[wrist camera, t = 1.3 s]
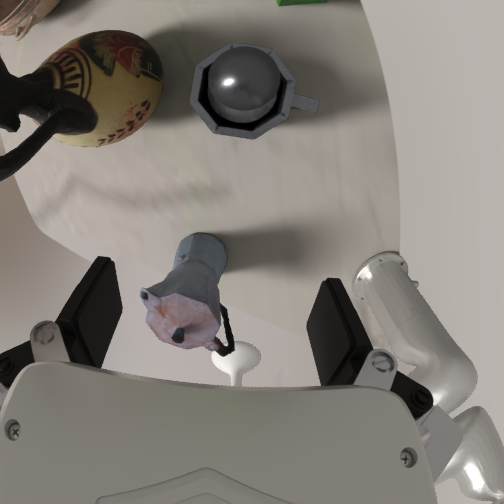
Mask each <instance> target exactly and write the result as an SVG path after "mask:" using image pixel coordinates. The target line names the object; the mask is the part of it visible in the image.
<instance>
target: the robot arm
mask: <svg viewBox="0 0 504 504" xmlns="http://www.w3.org/2000/svg"><path fill="white" fill-rule="evenodd" d="M417 287H418V282H417V281H412V280H411V279H410V278H409V276H408V266H407V263H406V261H405V260H404V259H403V258H402V257H401V256H400V255H398V254H396V253H392V252H386V253H381V254H378V255H376V256H374V257H372V258H371V259H369V260H368V261H367V262H365V263H364V264H363V265H362V266H361V268H360V269H359V270H358V272H357V274H356V276H355V278H354V282H353V290H354V293H355V295H356V297H357V299H358V300H359V301H360V302H362V303H365V304H369V306H370V307H371V309H372V311H373V313H374V315H375V317H376V319H377V321H378V323H379V325H380V327H381V329H382V331H383V333H384V335H385V337H386V339H387V341H388V343H389V346H390V348H391V350H392V352H393V354H394V355H395V356H396V358H397V359H399V360H400V361H402V362H404V363H406V364H410V365H414V366H417V367H416V368H415V369H414V370H413V371H412V372H411V373H409V375H407V376H406V375H404V374H402V373H400V372H399V371H397V366H398V365H397V361H396V359H395V357H394V356H393V355H392V354H391V353H390V352H388V351H386V350H384V349H373V347H372V344H371V342H370V340H369V338H368V335H367V333H366V331H365V329H364V326H363V324H362V322H361V320H360V318H359V316H358V314H357V311H356V310H355V308H354V306H353V304H352V302H351V300H350V298H349V296H348V294H347V292H346V290H345V288H344V286H343V284H342V282H341V280H340V279H339V278H327V279H326V281H323V282H322V284H321V286H320V289H319V292H318V295H317V297H316V300H315V303H314V305H313V308H312V311H311V313H310V316H309V318H308V321H307V332H308V336H309V340H310V344H311V348H312V351H313V355H314V359H315V363H316V367H317V371H318V375H319V379H320V383H321V386H310V387H241V386H222V385H207V384H197V383H186V382H178V381H170V380H163V379H156V378H149V377H143V376H137V375H131V374H126V373H121V372H116V371H111V370H106V369H101V367H102V364H103V361H104V358H105V355H106V353H107V350H108V347H109V345H110V342H111V339H112V337H113V334H114V331H115V329H116V326H117V324H118V321H119V319H120V316H121V314H122V308H123V307H122V301H121V296H120V292H119V286H118V281H117V275H116V269H115V263H114V261H111V258H109V257H102V256H98V257H97V258H96V259H95V261H94V262H93V264H92V265H91V267H90V268H89V269H88V271H87V272H86V274H85V275H84V277H83V278H82V280H81V281H80V283H79V284H78V285H77V287H76V288H75V290H74V291H73V293H72V294H71V296H70V298H69V299H68V301H67V302H66V304H65V306H64V307H63V309H62V311H61V313H60V314H59V316H58V318H57V319H56V321H55V322H52V321H43V322H40V323H38V324H37V325H36V326H34V328H33V329H32V331H31V334H30V340H29V341H27V342H25V343H23V344H21V345H18V346H16V347H14V348H12V349H10V350H7V351H5V352H3V353H1V354H0V504H438V503H437V497H436V493H435V487H434V486H435V485H437V484H439V483H441V482H443V481H445V480H447V479H449V478H455V479H456V480H457V481H458V484H459V486H460V489H461V491H462V493H463V494H464V495H466V496H467V497H470V498H473V499H476V500H481V501H492V502H494V503H492V504H504V446H503V444H502V442H501V439H500V437H499V434H498V432H497V430H496V428H495V426H494V424H493V422H492V420H491V418H490V416H489V415H488V413H487V412H486V410H485V409H484V408H482V407H480V406H474V407H471V408H469V409H467V410H466V411H464V412H462V413H461V414H459V415H458V416H456V417H455V418H453V419H451V418H450V417H449V416H448V414H449V413H450V412H452V411H454V410H455V409H456V408H458V407H459V406H460V405H461V404H462V403H464V402H465V400H467V399H468V398H469V397H470V395H471V394H472V393H473V391H474V389H475V387H476V384H477V378H478V377H477V372H476V369H475V367H474V365H473V363H472V362H471V360H470V359H469V358H468V356H467V355H466V354H465V353H464V352H463V351H462V350H461V348H460V347H459V346H458V345H457V344H456V342H455V341H454V340H453V339H452V338H451V336H450V335H449V334H448V332H447V331H446V329H445V328H444V327H443V325H442V324H441V322H440V321H439V319H438V318H437V316H436V315H435V314H434V312H433V311H432V309H431V308H430V306H429V305H428V303H427V302H426V301H425V299H424V298H423V296H422V295H421V294H420V292H419V291H418V290H417Z"/></svg>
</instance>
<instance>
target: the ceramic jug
mask: <svg viewBox="0 0 504 504" xmlns="http://www.w3.org/2000/svg"><path fill="white" fill-rule="evenodd" d="M162 84H163V70H162V65H161V62H160V59H159V57H158V55H157V53H156V51H155V50H154V49H153V47H152V46H151V45H150V44H149V43H148V42H147V41H146V40H144V39H143V38H141V37H140V36H138V35H136V34H133V33H130V32H126V31H121V30H105V31H98V32H93V33H88V34H86V35H83V36H80V37H78V38H76V39H73V40H72V41H70V42H69V43H67V44H66V45H64V46H63V47H61V48H60V49H58V50H57V51H56V52H54V53H53V54H52V55H50V56H49V57H48V58H47V59H46V60H45V61H44V62H43V63H42V64H41V65H40V66H39V68H38V69H36V70H35V71H34V72H33V73H31V74H27V75H24V76H22V77H20V78H18V77H16V76H14V75H12V74H10V73H9V72H8V70H7V68H6V66H5V64H4V62H3V60H2V58H1V56H0V128H2V129H6V130H7V131H8V132H17V130H18V129H19V127H20V123H21V121H20V119H19V114H23V115H26V116H28V117H30V118H32V119H33V120H34V122H35V123H36V124H37V125H38V126H39V127H38V128H37V129H36V130H35V131H34V133H33V134H32V135H31V136H29V137H28V138H27V139H25V140H24V141H23V142H22V143H21V144H20V145H19V146H18V147H17V148H15V149H13V150H11V151H10V152H8V153H7V154H6V155H4V156H0V181H2V180H4V179H6V178H8V177H9V176H11V175H13V174H14V173H15V172H17V171H18V170H19V169H20V168H21V167H22V166H24V165H25V164H26V163H27V162H28V161H29V160H30V159H31V158H32V157H33V156H34V155H35V154H36V153H37V152H38V151H39V150H40V149H41V147H42V146H43V145H44V144H45V143H46V142H47V141H48V140H49V139H50V138H51V137H53V138H55V139H57V140H59V141H60V142H63V143H65V144H69V145H72V146H80V147H100V146H104V145H109V144H113V143H115V142H118V141H120V140H122V139H125V138H126V137H128V136H130V135H132V134H133V133H134V132H136V131H137V130H138V129H139V128H140V127H141V126H143V124H144V123H145V122H146V121H147V120H148V119H149V118H150V116H151V115H152V113H153V112H154V110H155V108H156V106H157V104H158V102H159V100H160V96H161V91H162Z"/></svg>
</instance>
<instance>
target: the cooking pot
mask: <svg viewBox="0 0 504 504" xmlns="http://www.w3.org/2000/svg"><path fill="white" fill-rule="evenodd" d="M60 1H61V0H0V35H3V36H8V35H14V34H16V35H15V39H16V40H17V41H19V40H21V39H22V38H23V37H24V36H25V35H26V34H27V33H28V32H29V30H30V29H31V27H32V26H34V25H35V24H37V23H38V22H39V21H41V20H42V19H43V18H44V17H46V16H47V15H48V14H49V13H50V12H51V11H52V10H53V9H54V8H55V7H56V6H57V5H58V3H59V2H60ZM21 32H22V33H21Z"/></svg>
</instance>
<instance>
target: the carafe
mask: <svg viewBox="0 0 504 504" xmlns="http://www.w3.org/2000/svg"><path fill="white" fill-rule="evenodd" d="M241 46H248V47H254V48H257V49H260V50H262V51H264V52H266V53H267V54H268V55H270V56H271V57H272V58H273V60H274V61H275V62H276V64H277V66H278V69H279V72H280V85H279V88H278V90H277V97H276V101H275V103H274V105H273V107H272V108H271V109H270V111H269V112H268V113H267V114H266V115H264V116H263V117H261V118H259V119H257V120H255V121H252V122H246V123H238V122H232V121H229V120H227V119H225V118H223V117H221V116H220V115H219V114H218V113H217V112H216V111H215V110H214V109H213V107H212V106H211V104H210V101H209V98H208V85H209V83H208V75H209V70H210V68H211V65H212V64H213V62H214V61H215V59H216V58H217V57H218V56H219V55H220V54H222V53H223V52H225V51H227V50H229V49H231V48H235V47H241ZM295 85H296V81H295V78H294V77H293V75H292V74H291V73H290V71H289V70H288V69H287V67H286V66H285V64H284V63H283V62H282V60H281V59H280V58H279V56H278V55H277V54H276V53H275V51H274V50H272V49H270V48H265V47H259V46H253V45H247V44H240V43H232V42H231V43H229V44H227V45H226V46H224V47H222V48H221V49H219V50H218V51H216V52H215V53H213V54H211V55H210V56H208V57H207V58H206V59H204V60H203V61H201V62H200V63H198V64H197V66H196V68H195V73H194V78H193V84H192V89H191V95H190V101H189V103H190V105H191V106H192V107H193V108H194V110H195V111H196V112H197V113H198V115H199V116H200V117H201V118H202V120H203V121H204V122H205V124H206V125H207V126H208V127H209V129H210V130H211V131H212V132H213V133H214V134H220V135H227V136H234V137H241V138H247V139H253V140H254V139H256V138H258V137H259V136H261V135H262V134H264V133H265V132H267V131H268V130H270V129H272V128H273V127H275V126H276V125H278V124H280V123H281V122H283V121H284V120H286V119H288V118H287V117H289V113H290V108H293V109H297V110H302V111H310V112H317V110H318V105H319V101H320V100H316V99H313V98H309V97H305V96H301V95H297V94H294V89H295Z"/></svg>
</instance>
